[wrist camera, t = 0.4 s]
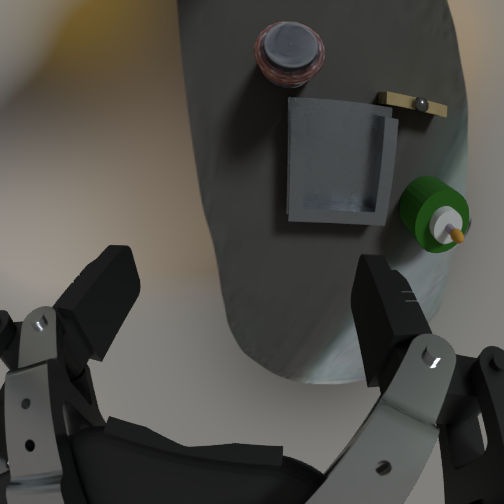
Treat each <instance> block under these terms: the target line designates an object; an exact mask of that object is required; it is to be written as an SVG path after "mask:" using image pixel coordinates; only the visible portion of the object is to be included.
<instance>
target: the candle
mask: <svg viewBox="0 0 504 504" xmlns="http://www.w3.org/2000/svg"><path fill="white" fill-rule="evenodd" d="M399 214H400V218H401V220H402V222H403V224H404V225H405V227H406V228H407V229H408V230H409V232H410V233H411V234H412V235H413V237H414V238H415V239H416V241H417V242H418V243H419V244H420V246H421V247H422V248H423V249H425V250H426V251H428V252H431V253H441V252H445V251H447V250H449V249H451V248H453V247H454V246H455V245H456V244H457V243H462V242H463V240H464V236H463V235H464V234H465V232H466V229H467V226H468V223H469V208H468V205H467V202H466V200H465V199H464V197H463V196H462V195H461V194H459V193H458V192H457V191H455V190H454V189H452V188H451V187H449V186H448V185H447V184H445V183H444V182H442V181H440V180H439V179H437V178H435V177H431V176H423V177H419V178H417V179H415V180H414V181H412V182H411V183H410V184H409V185H408V186H407V187H406V189H405V190H404V192H403V194H402V196H401V199H400V203H399Z"/></svg>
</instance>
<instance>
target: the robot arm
mask: <svg viewBox="0 0 504 504" xmlns="http://www.w3.org/2000/svg"><path fill="white" fill-rule="evenodd" d="M139 293H140V279H139V275H138V272H137V268H136V265H135V261H134V258H133V254H132V251H131V248H130V247H129V246H124V245H109V246H108V247H107V248H106V249H105V250H104V251H103V252H102V253H101V254H100V256H99V257H98V258H97V259H95V260H94V261H92V262H91V263H89V264H88V265H87V266H86V267H85V268H84V270H82V272H81V273H80V276H79V275H78V276H77V277H76V279H75V280H74V283H71V284H70V286H69V287H68V288H67V289H66V290H65V292H64V293H63V294H62V295H61V297H60V298H59V299H58V300H57V302H56V303H55V304H54V306H53V307H48V306H45V307H40V308H37V309H35V310H33V311H32V312H31V313H30V314H28V316H27V317H26V318H25V320H24V321H23V322H13V320H12V319H11V317H10V315H9V314H8V312H7V311H5V310H0V358H1V360H2V361H3V362H4V364H6V366H7V367H8V368H9V370H10V371H8V372H7V373H6V377H5V382H4V384H3V386H2V388H1V390H0V504H404V502H405V500H406V499H407V497H408V496H409V494H410V492H411V490H412V489H413V487H414V485H415V483H416V482H417V480H418V478H419V476H420V474H421V472H422V470H423V468H424V467H425V465H426V463H427V461H428V458H429V457H430V454H431V452H432V450H433V448H434V445H435V443H436V441H437V438H438V437H439V444H440V451H441V459H442V467H443V479H444V494H445V504H504V350H502V349H500V348H499V347H495V346H489V347H486V348H485V349H483V351H482V352H481V353H480V355H479V356H478V358H473V357H466V356H461V355H457V354H455V351H454V349H453V348H452V346H451V345H450V344H449V343H448V342H447V341H446V340H445V339H444V338H442V337H440V336H437V335H434V334H432V332H431V330H430V327H429V325H428V323H427V320H426V318H425V316H424V314H423V312H422V309H421V307H420V305H419V303H418V302H417V301H416V300H417V299H416V297H415V295H414V293H412V289H411V287H410V285H409V283H408V281H407V279H405V278H404V277H403V276H402V275H401V274H400V273H399V272H398V271H397V270H391V269H390V267H389V265H388V263H387V261H386V259H385V257H384V256H383V255H370V254H362V255H361V256H360V258H359V261H358V266H357V270H356V275H355V279H354V283H353V288H352V292H351V309H352V314H353V318H354V322H355V327H356V331H357V336H358V340H359V345H360V350H361V355H362V360H363V365H364V370H365V376H366V381H367V386H368V387H380V392H381V395H380V396H379V398H378V399H377V401H376V403H375V404H374V406H373V408H372V409H371V411H370V412H369V414H368V415H367V417H366V418H365V420H364V421H363V423H362V425H361V426H360V427H359V429H358V430H357V432H356V433H355V435H354V436H353V437H352V439H351V440H350V442H349V443H348V444H347V445H346V447H345V448H344V449H343V450H342V452H341V453H340V454H339V455H338V457H337V458H336V459H335V460H334V462H333V463H332V464H331V465H330V466H329V468H328V469H327V470H326V471H325V472H324V474H323V473H321V472H320V471H318V470H317V469H315V468H314V467H312V466H310V465H308V464H306V463H304V462H302V461H299V460H297V459H294V458H291V457H287V456H283V446H265V445H250V444H239V443H232V444H223V445H213V446H212V445H211V446H196V447H187V446H183V445H180V444H178V443H176V442H174V441H172V440H170V439H168V438H166V437H164V436H162V435H160V434H158V433H156V432H154V431H152V430H150V429H149V428H147V427H144V426H140V425H137V424H133V423H130V422H126V421H123V420H120V419H117V418H114V417H111V416H109V418H108V420H107V423H106V422H105V421H104V419H103V417H102V415H101V413H100V411H99V408H98V404H97V400H96V396H95V391H94V387H93V383H92V378H91V373H90V368H89V366H88V365H87V362H88V360H89V358H90V359H93V360H97V361H101V362H102V361H103V359H104V357H105V355H106V353H107V351H108V349H109V347H110V345H111V344H112V342H113V340H114V338H115V336H116V334H117V333H118V331H119V329H120V327H121V325H122V323H123V322H124V320H125V318H126V317H127V315H128V313H129V311H130V310H131V308H132V306H133V304H134V303H135V301H136V299H137V297H138V296H139ZM480 413H482V417H483V421H484V425H485V430H486V434H487V440H488V443H487V448H486V450H484V444H483V439H482V434H481V430H480V425H479V421H478V417H477V416H478V415H479V414H480ZM435 423H436V425H437V426H435ZM8 461H9V464H7V462H8Z"/></svg>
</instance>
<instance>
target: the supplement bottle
mask: <svg viewBox="0 0 504 504" xmlns="http://www.w3.org/2000/svg"><path fill="white" fill-rule="evenodd" d="M254 56H255V60H256V62H257V64H258V65H259V67H260V69H261V71H262V73H263V75H264V76H265V78H266V79H267V80H268V81H269V82H271V83H272V84H274V85H276V86H278V87H282V88H295V87H299V86H301V85H303V84H305V83H306V82H308V81H309V80H310V79H311V78H312V77H313V76H315V75H316V74H317V73H318V71H319V70H320V69H321V67H322V65H323V63H324V60H325V49H324V45H323V42H322V40H321V38H320V37H319V36H318V35H317V34H316V33H315V32H314V31H313V30H312V29H310V28H309V27H307V26H305V25H303V24H300V23H296V22H279V23H275V24H273V25H270V26H269V27H267V28H266V29H264V30H263V31H262V32H261V33H260V35H259V36H258V38H257V40H256V42H255V47H254Z"/></svg>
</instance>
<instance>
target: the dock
mask: <svg viewBox="0 0 504 504" xmlns="http://www.w3.org/2000/svg"><path fill="white" fill-rule="evenodd" d="M397 134H398V119H395V118H392V108H390V107H384V106H378V105H372V104H365V103H357V102H349V101H340V100H329V99H316V98H298V97H288V160H287V205H286V214H288V221H294V222H321V223H343V224H362V225H379V226H385V223H386V217H387V212H388V206H389V200H390V194H391V187H392V180H393V172H394V164H395V155H396V145H397Z"/></svg>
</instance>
